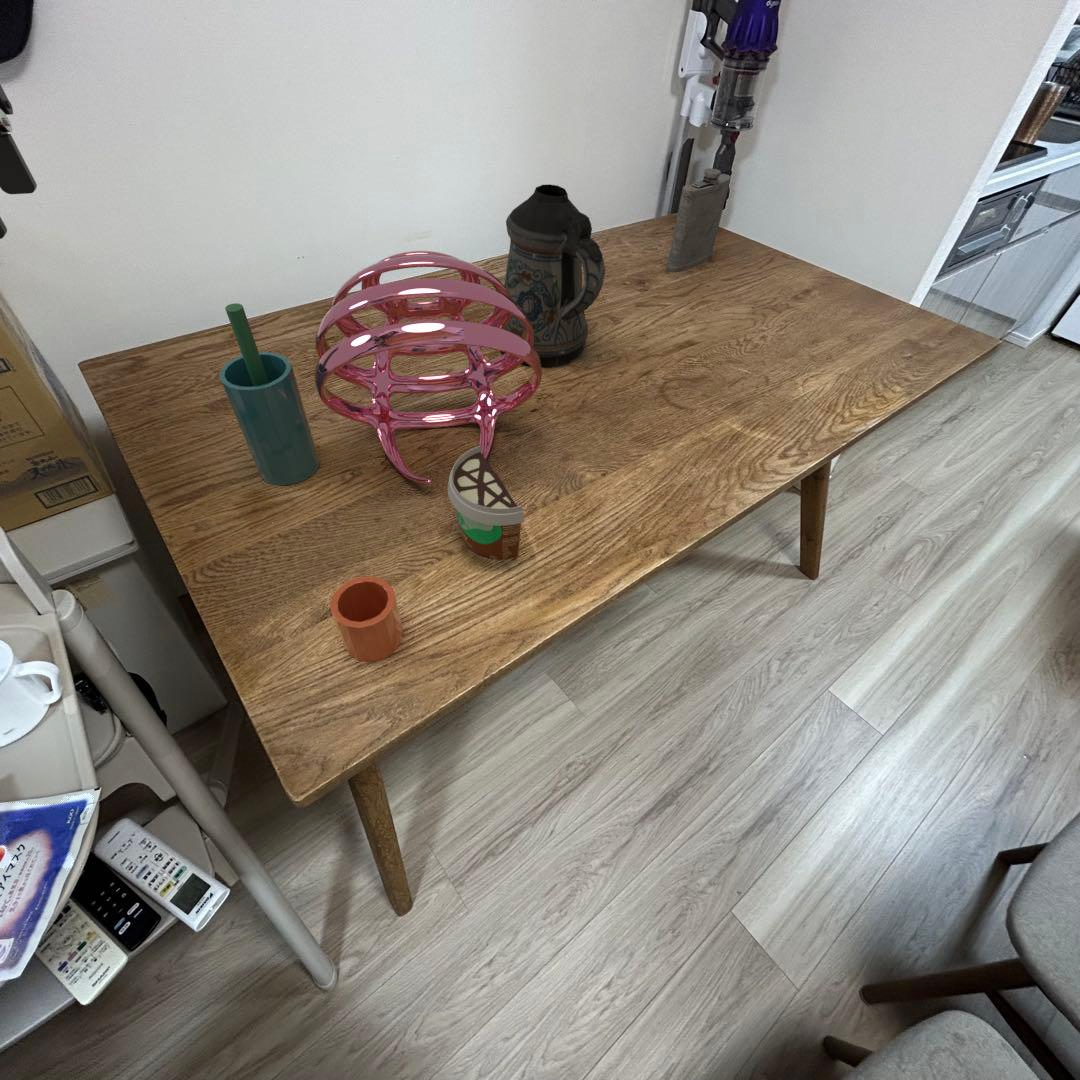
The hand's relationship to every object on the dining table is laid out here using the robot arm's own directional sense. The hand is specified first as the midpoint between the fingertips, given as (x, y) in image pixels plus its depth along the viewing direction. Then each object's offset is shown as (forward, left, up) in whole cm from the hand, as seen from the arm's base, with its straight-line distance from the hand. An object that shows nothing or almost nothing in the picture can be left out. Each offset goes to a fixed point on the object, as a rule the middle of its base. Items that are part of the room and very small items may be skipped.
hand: (7, 213), depth 43 cm
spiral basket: (+31, +14, -38) cm, 51 cm away
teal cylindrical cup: (+10, +14, -38) cm, 42 cm away
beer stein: (+54, +36, -38) cm, 75 cm away
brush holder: (+18, -17, -38) cm, 45 cm away
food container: (+32, -6, -38) cm, 50 cm away
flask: (+95, +62, -38) cm, 120 cm away
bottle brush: (+10, +14, -37) cm, 41 cm away
